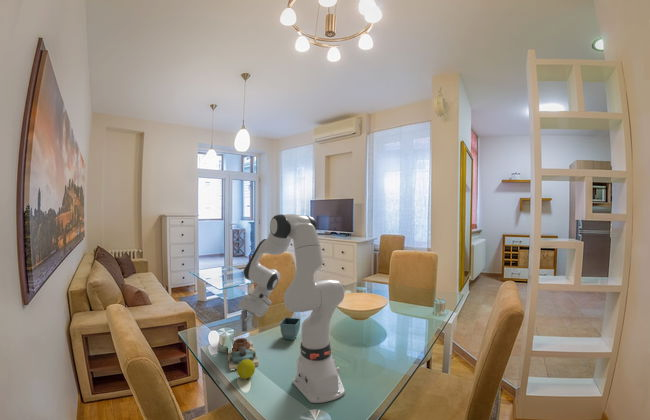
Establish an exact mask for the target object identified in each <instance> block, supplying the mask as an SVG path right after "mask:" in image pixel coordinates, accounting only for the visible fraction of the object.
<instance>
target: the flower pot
mask: <svg viewBox="0 0 650 420" xmlns="http://www.w3.org/2000/svg"><path fill="white" fill-rule="evenodd" d="M279 326H280V332H281V333H280V334H281V336H282V338H283V339H284V340H290V341H294V340H296V339H295V338H297V336H298V333H299V331H300V327H301V318H296V317H295V318H294V317H293V318H292V317H284V318H283V319H282V320H281V322H280V323H279Z"/></svg>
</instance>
